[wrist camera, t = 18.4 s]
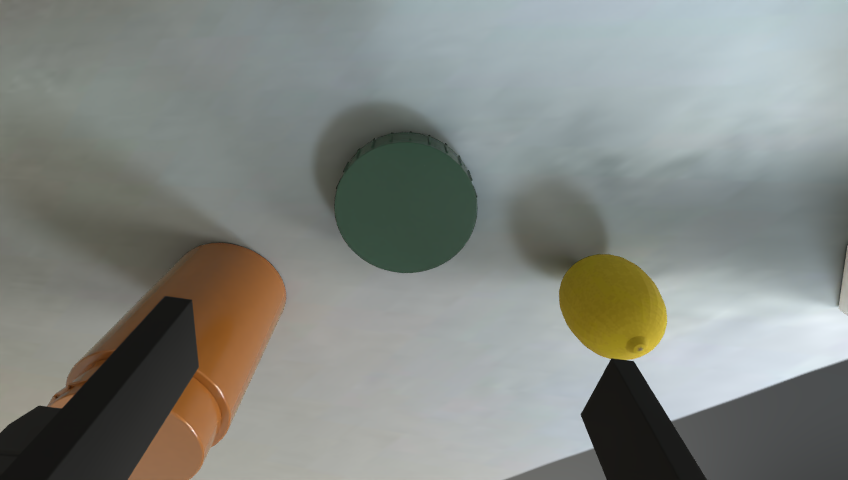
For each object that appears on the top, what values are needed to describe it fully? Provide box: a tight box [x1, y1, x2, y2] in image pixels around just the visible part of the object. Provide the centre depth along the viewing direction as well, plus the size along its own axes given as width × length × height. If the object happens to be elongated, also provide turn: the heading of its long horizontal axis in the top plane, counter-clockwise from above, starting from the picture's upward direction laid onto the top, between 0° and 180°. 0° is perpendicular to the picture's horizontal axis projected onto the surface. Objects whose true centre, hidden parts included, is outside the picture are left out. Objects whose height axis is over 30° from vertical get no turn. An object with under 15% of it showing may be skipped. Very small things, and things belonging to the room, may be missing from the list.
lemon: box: [559, 254, 667, 360], centre depth 25 cm, size 6×6×8 cm
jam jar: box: [47, 243, 286, 480], centre depth 24 cm, size 8×8×12 cm
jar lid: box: [334, 131, 477, 273], centre depth 25 cm, size 8×8×2 cm
